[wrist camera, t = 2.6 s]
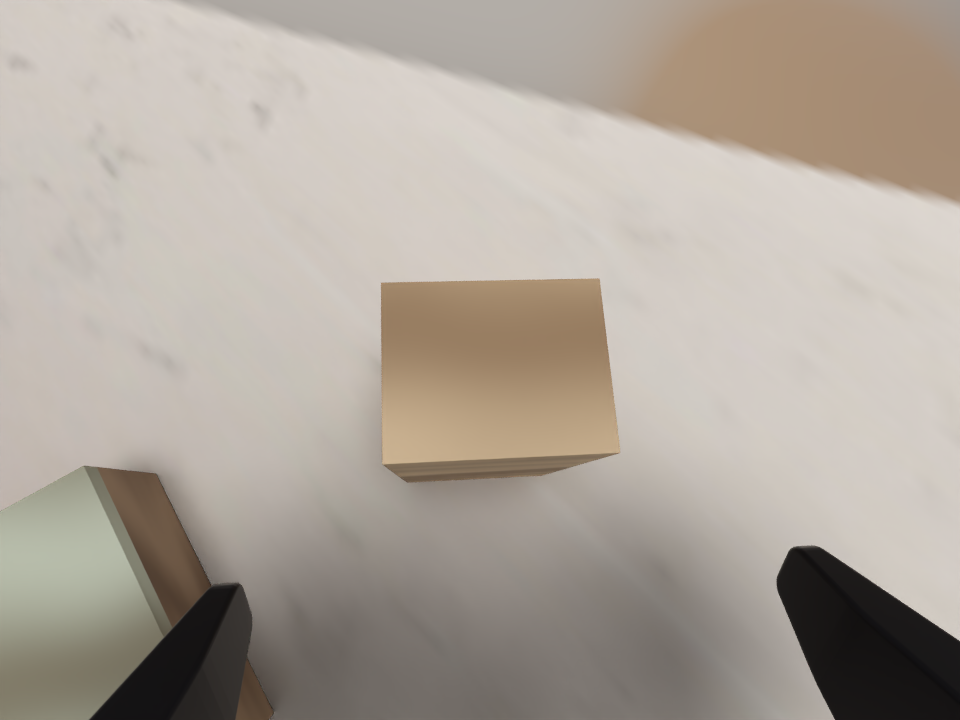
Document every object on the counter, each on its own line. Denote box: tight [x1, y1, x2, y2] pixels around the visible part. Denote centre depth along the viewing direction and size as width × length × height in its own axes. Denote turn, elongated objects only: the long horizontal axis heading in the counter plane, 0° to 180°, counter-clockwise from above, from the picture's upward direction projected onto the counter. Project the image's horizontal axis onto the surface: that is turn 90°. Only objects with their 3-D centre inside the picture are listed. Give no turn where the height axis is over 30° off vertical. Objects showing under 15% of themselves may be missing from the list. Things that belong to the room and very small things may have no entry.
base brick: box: [0, 466, 274, 720], centre depth 15 cm, size 9×9×4 cm
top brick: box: [381, 279, 620, 482], centre depth 16 cm, size 4×5×9 cm
